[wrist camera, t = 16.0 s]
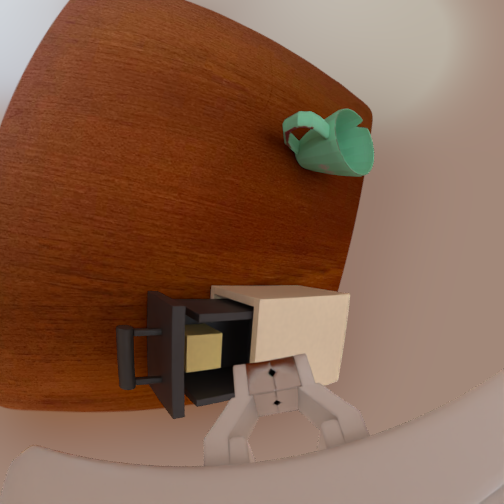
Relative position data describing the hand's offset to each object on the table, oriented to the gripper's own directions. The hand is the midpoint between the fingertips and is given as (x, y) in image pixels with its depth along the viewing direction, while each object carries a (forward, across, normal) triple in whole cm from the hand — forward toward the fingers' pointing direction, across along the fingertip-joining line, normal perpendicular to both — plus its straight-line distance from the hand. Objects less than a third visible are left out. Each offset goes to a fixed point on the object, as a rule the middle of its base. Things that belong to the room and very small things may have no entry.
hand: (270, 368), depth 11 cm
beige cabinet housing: (+22, 0, +18) cm, 28 cm away
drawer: (+17, +9, +13) cm, 23 cm away
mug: (+36, -10, -3) cm, 38 cm away
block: (+16, +8, +13) cm, 22 cm away
